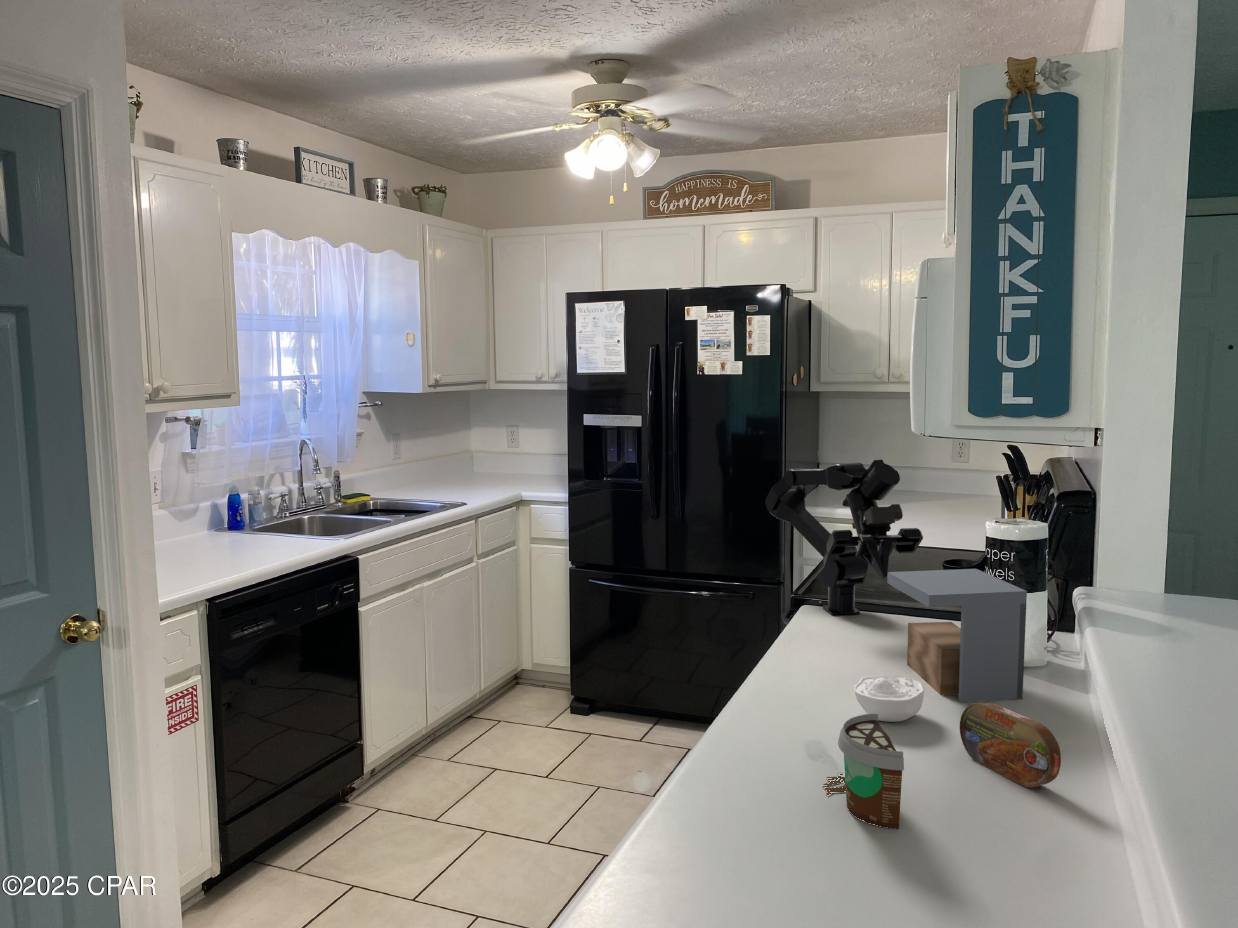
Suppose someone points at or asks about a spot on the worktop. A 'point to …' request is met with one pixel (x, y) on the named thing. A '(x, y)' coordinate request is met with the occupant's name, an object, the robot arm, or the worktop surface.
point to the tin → (1010, 744)
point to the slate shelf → (978, 627)
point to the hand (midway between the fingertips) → (884, 576)
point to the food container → (871, 771)
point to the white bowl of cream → (889, 697)
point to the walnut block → (935, 654)
